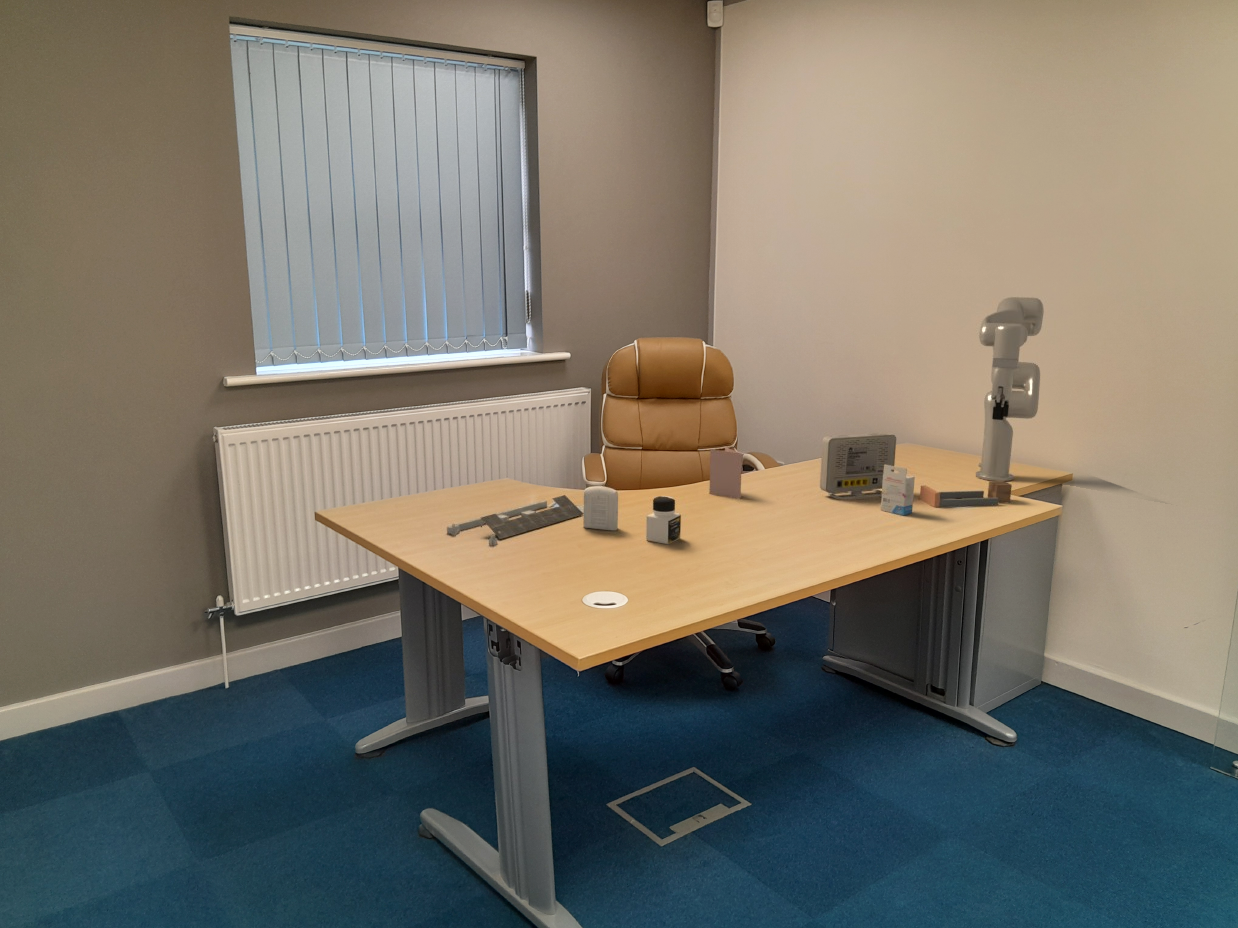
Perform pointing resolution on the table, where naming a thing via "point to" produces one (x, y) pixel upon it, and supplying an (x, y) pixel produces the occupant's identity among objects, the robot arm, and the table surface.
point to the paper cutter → (523, 518)
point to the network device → (856, 463)
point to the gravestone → (600, 508)
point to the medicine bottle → (663, 521)
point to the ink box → (897, 491)
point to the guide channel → (949, 497)
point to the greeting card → (725, 473)
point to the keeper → (999, 491)
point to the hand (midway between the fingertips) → (1000, 418)
